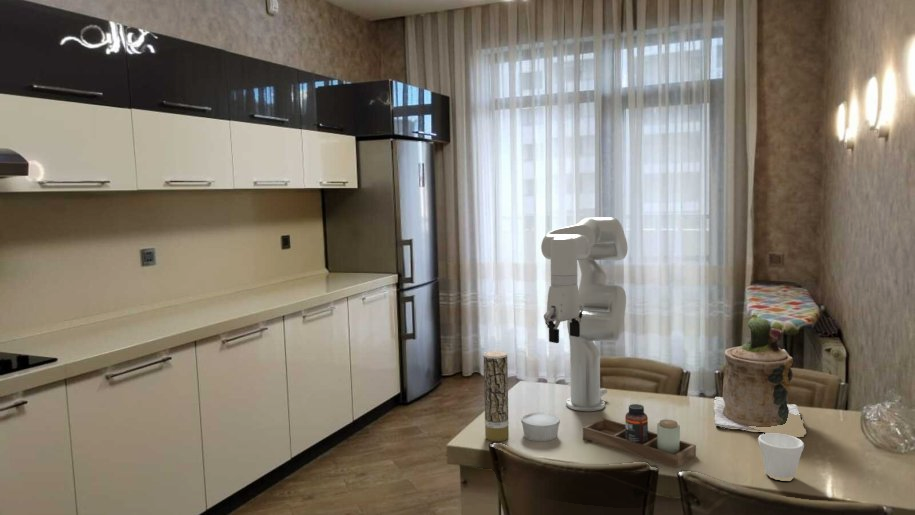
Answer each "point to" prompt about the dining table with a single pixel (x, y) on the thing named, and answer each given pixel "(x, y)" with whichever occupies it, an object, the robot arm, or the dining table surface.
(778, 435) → the cup
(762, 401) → the cookie jar
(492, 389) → the bark-patterned cylinder
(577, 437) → the dining table surface
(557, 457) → the dining table surface
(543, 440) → the ramekin
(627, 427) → the supplement bottle
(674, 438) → the sage jar
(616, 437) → the rack
